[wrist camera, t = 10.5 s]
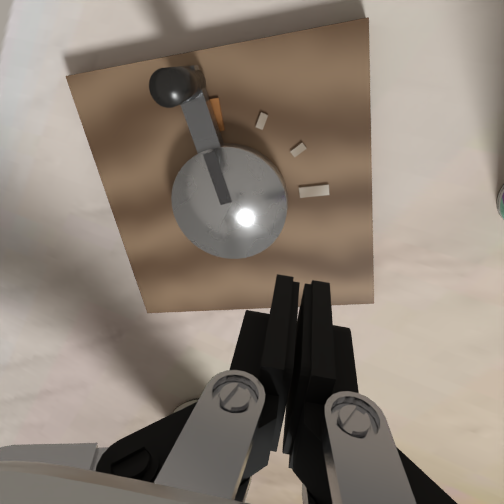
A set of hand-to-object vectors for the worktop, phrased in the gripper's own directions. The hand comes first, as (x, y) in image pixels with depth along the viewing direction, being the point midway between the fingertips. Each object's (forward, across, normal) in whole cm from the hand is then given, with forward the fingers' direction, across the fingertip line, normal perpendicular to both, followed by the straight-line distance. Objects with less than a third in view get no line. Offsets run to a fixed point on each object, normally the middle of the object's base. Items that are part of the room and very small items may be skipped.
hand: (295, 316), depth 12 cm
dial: (+21, +7, +2) cm, 23 cm away
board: (+23, +6, +5) cm, 24 cm away
